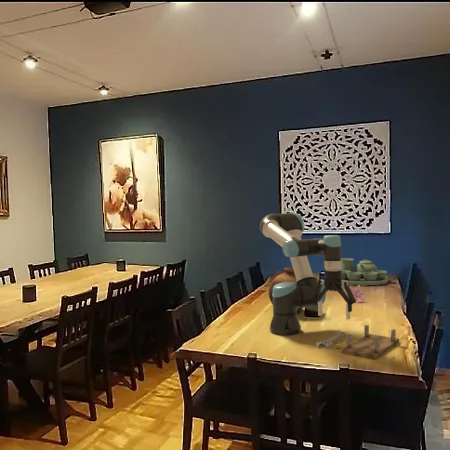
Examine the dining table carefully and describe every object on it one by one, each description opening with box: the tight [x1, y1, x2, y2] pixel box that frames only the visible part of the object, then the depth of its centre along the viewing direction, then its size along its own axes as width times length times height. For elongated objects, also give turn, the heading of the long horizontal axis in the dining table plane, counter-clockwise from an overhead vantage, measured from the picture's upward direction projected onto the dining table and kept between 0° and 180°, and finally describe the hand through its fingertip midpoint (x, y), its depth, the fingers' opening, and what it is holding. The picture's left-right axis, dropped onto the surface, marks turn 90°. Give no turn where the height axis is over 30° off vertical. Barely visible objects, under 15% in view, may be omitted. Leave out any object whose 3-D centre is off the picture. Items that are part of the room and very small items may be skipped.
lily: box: [347, 285, 367, 304], centre depth 285 cm, size 12×12×10 cm
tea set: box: [340, 257, 390, 287], centre depth 353 cm, size 40×40×16 cm
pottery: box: [268, 267, 304, 312], centre depth 265 cm, size 23×23×25 cm
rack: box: [341, 324, 400, 360], centre depth 197 cm, size 14×27×6 cm, turn 140°
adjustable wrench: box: [315, 331, 346, 349], centre depth 208 cm, size 25×6×2 cm, turn 139°
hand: (334, 317), depth 206 cm, fingers open, 13 cm apart
